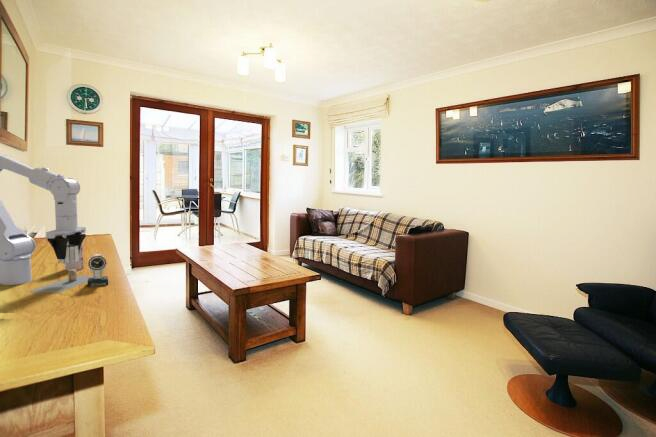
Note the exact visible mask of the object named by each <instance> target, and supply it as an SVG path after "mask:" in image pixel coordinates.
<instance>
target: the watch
mask: <svg viewBox="0 0 656 437" xmlns="http://www.w3.org/2000/svg"><path fill="white" fill-rule="evenodd" d="M108 264H109V261H107V259H106V258H105V257H104V255H102V253H95V254H94V253H93V254H92V255H91V257H90V259H88V261H87V266H88V268H89V270H90V272H91V274H92V276H93V277H92V278H88V281H87V288H90V287H101V286H109V275H103V273H104V272H105V270H106V269H105V268H106V266H107V265H108Z"/></svg>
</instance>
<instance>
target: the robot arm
mask: <svg viewBox="0 0 656 437" xmlns="http://www.w3.org/2000/svg"><path fill="white" fill-rule="evenodd" d="M3 170H6V171H9V172H11V173H13V174H17V175H20V176H23V177H25V178H28V181H29V183H31V184H33V185H34V186H37V187H39V188H42V189H44V190H46V191H49V192H50V193H51V195H53V200H54V215H55V229H53V230H50V231H46V232H45V238H46V240H47V242H48V243H49V244H50V246H51V247H52V249H53V251H54V254H55V257H56V259H57V260H58V259H65V257H66V246H67V243H68V242H69V245H78V255H79V251H80V247H81V244H82V242H83V241H84V240H85V238H86V236H87V234H86V232H87V231H86V230H87V229H86V226H79V225H78V201H77V198H78V197H77V195H78V194H79V193H80V191H81V186H80V183H79V182H78V181H77V179H74V178H71V177H68V178H65V177H64V175H63V174H60V173H59V174H57V173H55V172H53V171H51V170H50V168H48V167H45V166H44V167H43V166H42V167H41V166H39V167H35V168H33V167H31V166H29V165H27V164H25V163H23V162H22V161H19V160H17V159H15V158H12V157H10V156H8V155H6V154H2V153H0V173H1V172H2V171H3ZM65 233H67V234H65ZM81 233H82V234H81ZM64 236H66V237H67V238H64ZM83 243H84V242H83ZM36 246H37V245H36V241H35V239H34V238H32V237H31V236H29V235H28V233H27V232H26V230H23V229H21V228H19V227H18V226H17V225H16V224H15V222H14V220H13V218H12V217H11V215H10V213H9V211H8V210H7V208H6V206H4V203H3V201H2V200H1V199H0V285H4V286H14V285H15V286H16V285H21V284H22V285H23V284H27V283H30V282H32V281H33V279H32V262H31V260H32V259H31V257H32V256H33V253H34V251H35V250H36Z"/></svg>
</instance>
